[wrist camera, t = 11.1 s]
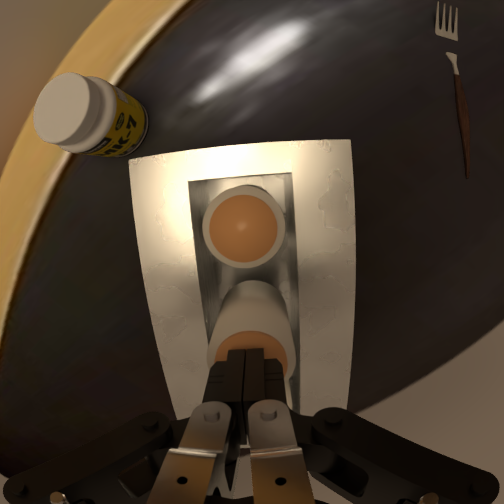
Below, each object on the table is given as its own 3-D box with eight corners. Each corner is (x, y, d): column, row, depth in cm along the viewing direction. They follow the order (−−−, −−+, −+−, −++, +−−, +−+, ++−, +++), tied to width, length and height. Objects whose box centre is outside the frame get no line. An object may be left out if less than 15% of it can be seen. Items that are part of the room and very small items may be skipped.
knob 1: (276, 182, 20) (282, 183, 14) (280, 242, 21) (288, 267, 15) (214, 187, 20) (196, 190, 14) (220, 247, 21) (205, 273, 15)
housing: (329, 151, 21) (359, 139, 14) (331, 382, 25) (349, 438, 18) (160, 165, 21) (119, 161, 14) (195, 390, 25) (179, 446, 19)
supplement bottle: (119, 170, 21) (53, 169, 13) (84, 131, 21) (16, 118, 12) (162, 123, 21) (111, 96, 12) (125, 85, 20) (67, 50, 12)
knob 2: (285, 278, 18) (295, 323, 12) (287, 337, 19) (297, 397, 13) (217, 282, 18) (198, 328, 13) (224, 341, 19) (211, 401, 13)
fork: (452, 177, 21) (466, 178, 19) (426, 9, 17) (436, 0, 16) (474, 179, 21) (488, 180, 19) (449, 15, 17) (459, 8, 15)
